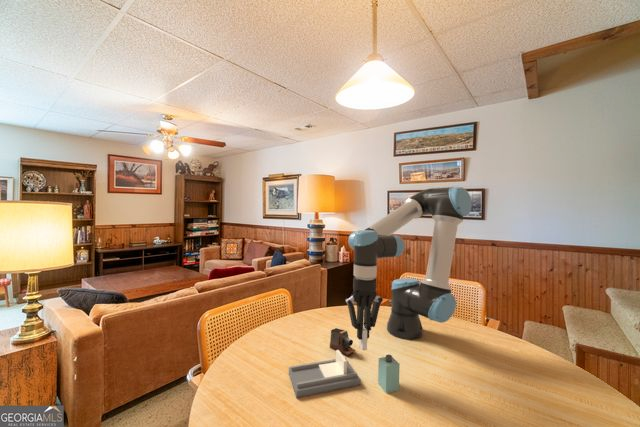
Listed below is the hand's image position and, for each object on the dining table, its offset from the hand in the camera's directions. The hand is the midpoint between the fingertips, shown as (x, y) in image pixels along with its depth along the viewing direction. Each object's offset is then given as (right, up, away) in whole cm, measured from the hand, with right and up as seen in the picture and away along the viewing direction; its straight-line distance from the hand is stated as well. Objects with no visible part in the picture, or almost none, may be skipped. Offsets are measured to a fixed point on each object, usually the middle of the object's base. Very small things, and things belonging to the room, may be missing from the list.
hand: (362, 348), depth 90 cm
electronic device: (-6, -8, +14) cm, 17 cm away
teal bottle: (+7, -8, -7) cm, 13 cm away
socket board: (-13, -8, -4) cm, 16 cm away
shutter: (-10, -6, -3) cm, 12 cm away
